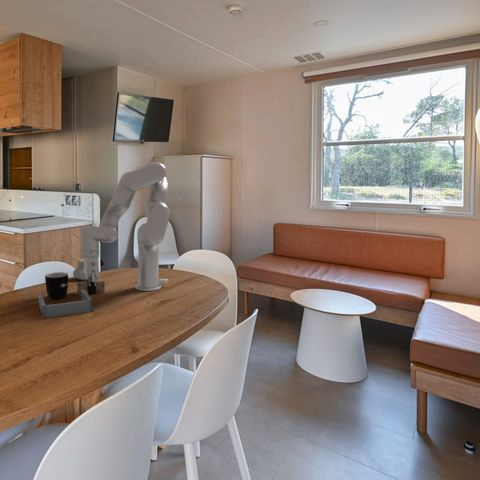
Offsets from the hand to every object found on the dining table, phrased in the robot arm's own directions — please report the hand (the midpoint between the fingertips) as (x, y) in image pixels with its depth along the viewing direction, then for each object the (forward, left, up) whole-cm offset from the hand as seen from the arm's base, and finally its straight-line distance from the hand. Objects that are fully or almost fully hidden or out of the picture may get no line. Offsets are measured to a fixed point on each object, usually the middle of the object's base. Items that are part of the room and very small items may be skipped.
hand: (91, 292), depth 171 cm
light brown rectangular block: (0, 0, 0) cm, 0 cm away
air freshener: (-2, -28, -1) cm, 28 cm away
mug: (+13, -1, -1) cm, 13 cm away
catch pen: (+13, +16, 0) cm, 21 cm away
